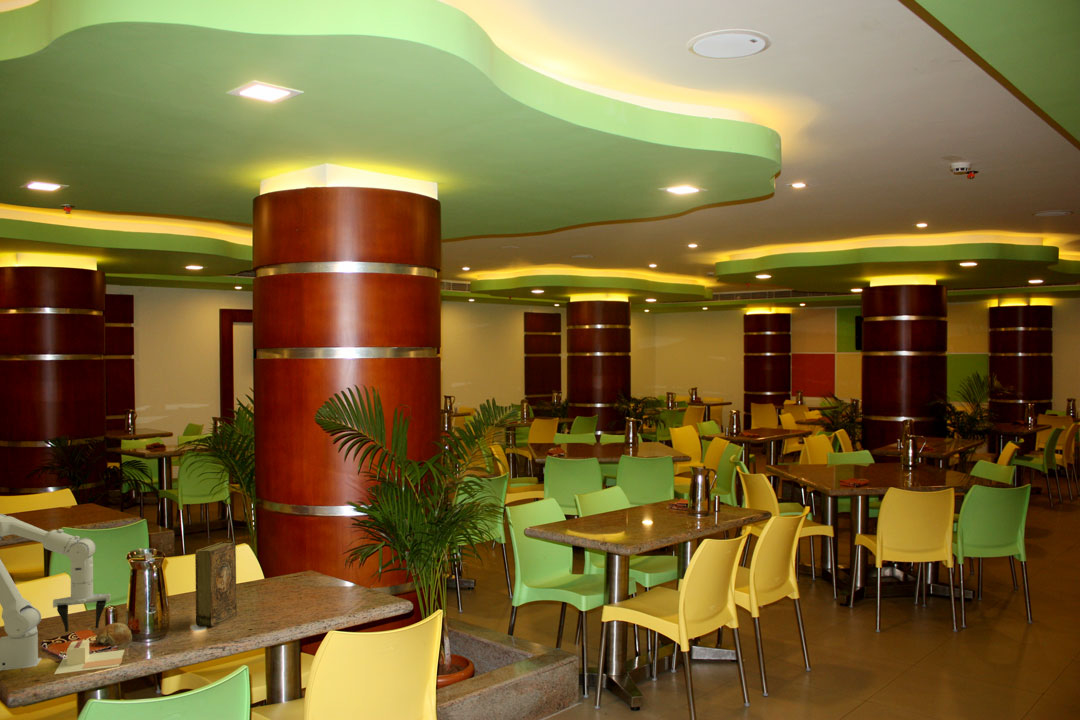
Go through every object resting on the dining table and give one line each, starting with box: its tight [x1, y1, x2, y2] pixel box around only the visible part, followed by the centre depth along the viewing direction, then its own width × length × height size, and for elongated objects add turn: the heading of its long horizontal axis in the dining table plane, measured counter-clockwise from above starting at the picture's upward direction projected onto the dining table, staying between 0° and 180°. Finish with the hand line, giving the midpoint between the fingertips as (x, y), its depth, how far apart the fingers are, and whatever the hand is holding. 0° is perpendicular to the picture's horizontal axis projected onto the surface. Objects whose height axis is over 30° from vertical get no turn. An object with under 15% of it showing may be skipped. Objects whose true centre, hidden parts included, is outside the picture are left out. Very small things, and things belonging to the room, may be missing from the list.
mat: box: [54, 649, 125, 675], centre depth 245 cm, size 16×16×1 cm
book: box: [194, 540, 238, 628], centre depth 287 cm, size 16×6×25 cm, turn 168°
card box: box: [66, 639, 90, 666], centre depth 246 cm, size 4×8×5 cm, turn 20°
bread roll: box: [95, 622, 133, 647], centre depth 264 cm, size 10×10×8 cm
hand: (82, 629), depth 247 cm, fingers open, 7 cm apart
